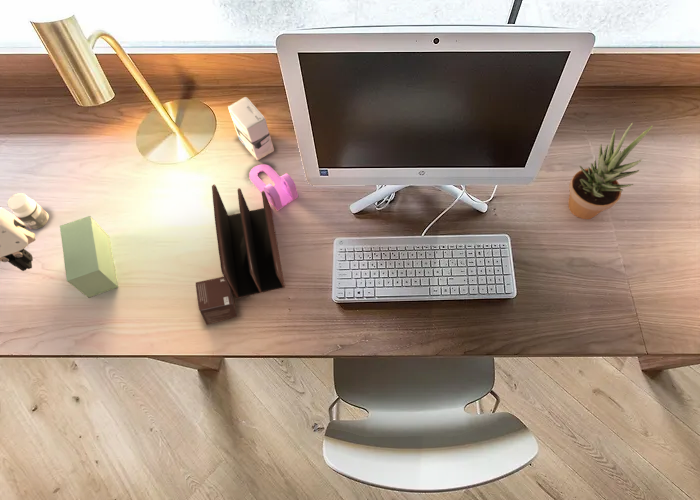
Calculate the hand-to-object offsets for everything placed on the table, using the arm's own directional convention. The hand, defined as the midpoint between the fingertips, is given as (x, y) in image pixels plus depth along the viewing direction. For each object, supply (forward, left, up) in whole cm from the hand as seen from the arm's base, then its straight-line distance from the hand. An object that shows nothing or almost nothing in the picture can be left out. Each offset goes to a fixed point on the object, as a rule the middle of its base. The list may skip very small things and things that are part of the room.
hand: (27, 263), depth 93 cm
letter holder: (+39, +12, -10) cm, 42 cm away
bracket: (+39, +29, -10) cm, 50 cm away
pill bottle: (-10, +14, -10) cm, 19 cm away
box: (+35, -1, -9) cm, 37 cm away
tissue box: (+8, +5, -10) cm, 13 cm away
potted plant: (+106, +32, -10) cm, 111 cm away
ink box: (+33, +40, -10) cm, 53 cm away
